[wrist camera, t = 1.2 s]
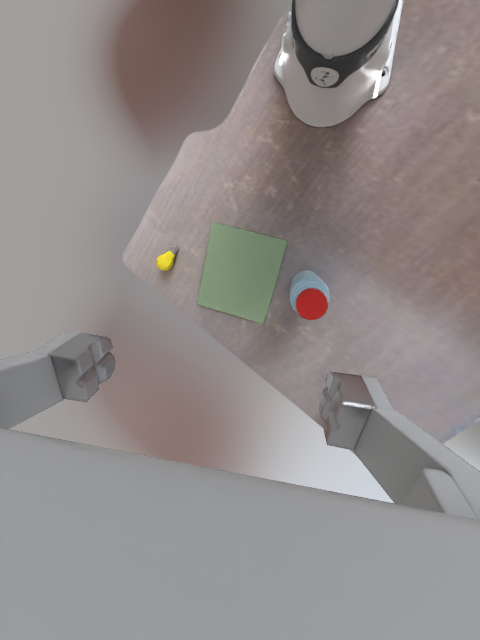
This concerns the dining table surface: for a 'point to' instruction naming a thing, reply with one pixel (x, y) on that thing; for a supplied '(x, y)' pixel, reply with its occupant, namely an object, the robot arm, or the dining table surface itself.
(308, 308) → the cap
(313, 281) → the bottle
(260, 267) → the mat
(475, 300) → the dining table surface
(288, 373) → the dining table surface
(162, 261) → the light bulb
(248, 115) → the dining table surface
